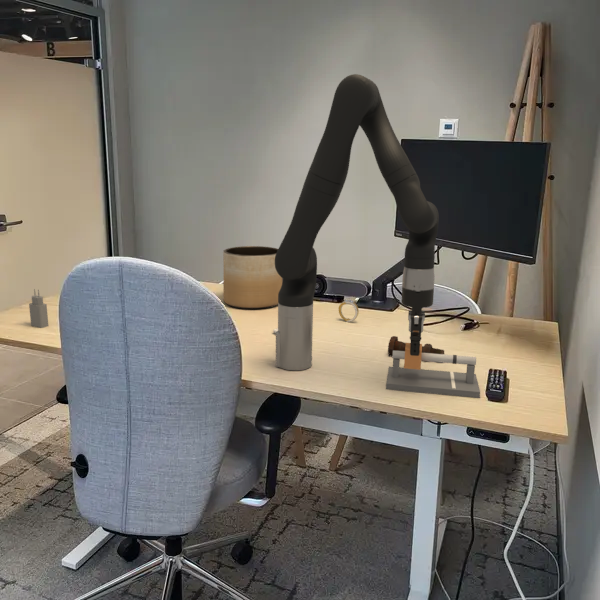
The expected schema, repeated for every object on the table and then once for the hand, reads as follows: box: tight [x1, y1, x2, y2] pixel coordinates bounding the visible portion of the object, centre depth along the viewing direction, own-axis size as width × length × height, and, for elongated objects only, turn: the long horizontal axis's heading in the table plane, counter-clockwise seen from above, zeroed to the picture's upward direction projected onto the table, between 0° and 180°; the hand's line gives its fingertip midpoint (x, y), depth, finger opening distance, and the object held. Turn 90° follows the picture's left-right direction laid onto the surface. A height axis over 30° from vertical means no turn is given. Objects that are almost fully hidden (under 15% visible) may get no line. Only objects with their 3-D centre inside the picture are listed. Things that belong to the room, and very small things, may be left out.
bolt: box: [387, 335, 445, 357], centre depth 164 cm, size 6×5×15 cm
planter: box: [222, 245, 283, 310], centre depth 218 cm, size 22×22×20 cm
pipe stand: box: [385, 350, 481, 399], centre depth 145 cm, size 22×12×8 cm, turn 79°
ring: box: [338, 298, 359, 323], centre depth 197 cm, size 7×3×8 cm, turn 53°
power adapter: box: [28, 288, 49, 329], centre depth 186 cm, size 3×5×12 cm, turn 61°
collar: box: [403, 342, 423, 370], centre depth 145 cm, size 4×5×5 cm
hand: (414, 349), depth 144 cm, fingers open, 8 cm apart
